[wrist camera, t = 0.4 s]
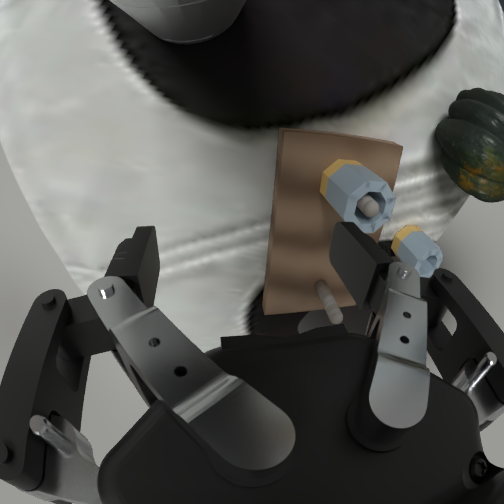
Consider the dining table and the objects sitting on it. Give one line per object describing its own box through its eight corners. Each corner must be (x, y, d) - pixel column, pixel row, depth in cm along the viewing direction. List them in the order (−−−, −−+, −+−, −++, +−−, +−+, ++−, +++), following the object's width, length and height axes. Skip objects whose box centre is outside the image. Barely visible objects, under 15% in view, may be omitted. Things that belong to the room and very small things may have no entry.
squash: (437, 81, 19) (527, 210, 15) (499, 60, 17) (569, 158, 13) (407, 145, 32) (465, 238, 29) (465, 114, 30) (517, 192, 27)
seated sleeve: (324, 157, 26) (351, 179, 21) (368, 162, 27) (399, 183, 22) (317, 204, 29) (339, 233, 24) (358, 205, 30) (385, 232, 25)
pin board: (279, 127, 26) (308, 149, 19) (393, 142, 28) (442, 168, 21) (262, 304, 39) (274, 355, 32) (350, 296, 42) (373, 339, 34)
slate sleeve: (398, 225, 35) (422, 249, 30) (423, 225, 36) (447, 248, 31) (387, 256, 38) (408, 282, 33) (412, 254, 39) (433, 278, 34)
